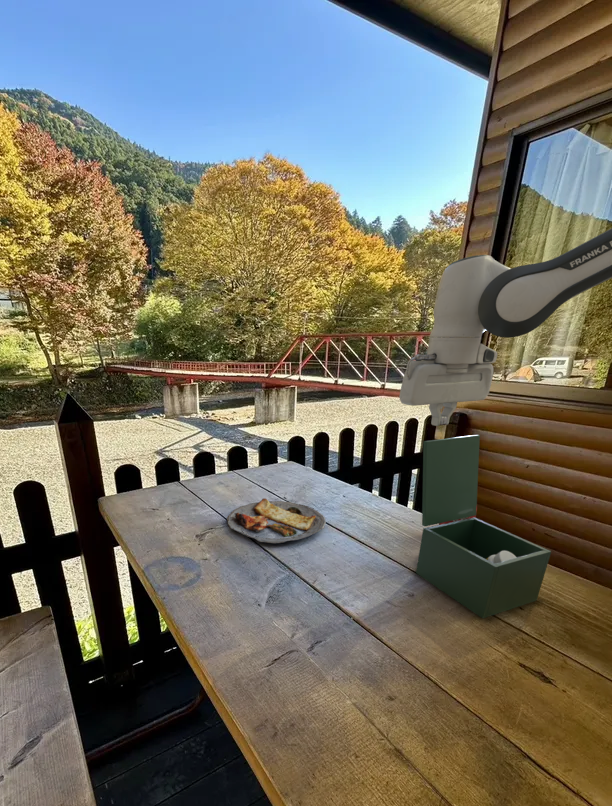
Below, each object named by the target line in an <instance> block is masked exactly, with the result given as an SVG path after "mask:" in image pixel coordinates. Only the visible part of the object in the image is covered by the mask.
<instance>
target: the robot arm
mask: <svg viewBox="0 0 612 806" xmlns="http://www.w3.org/2000/svg"><path fill="white" fill-rule="evenodd" d="M611 279H612V227H611V228H609V229H608V230H606V231H604V232H602V233H600V234H598V235H596V236H594V237H592V238H591V239H589V240H587V241H585V242H583V243H581V244H580V245H578V246H575V247H574V248H572V249H570V250H568V251H566V252H565V253H562V254H560V255H558V256H556V257H554V258H551V259H549V260H546V261H541V262H535V263H529V264H523V265H519V266H515V267H508V266H507V265H504V264H502V263H501V262H499V261H497V260H495V258H494V257H493V256H491V255H490V254H477V255H472V256H471V255H470V256H467V257H464V258H460V259H458V260H456V261H454V262H452V263H450V264H449V265H448V266H447V267H446V268H445V269H444V270H443V272H442V275H441V277H440V280H439V282H438V287H437V291H436V296H435V301H434V307H433V327H432V330H431V331H430V334H429V338H428V347H427V352H426V354H422V353H418V354H417V353H416V354H415V355H414V356H413V357H412V358H410V359H409V361H408V362H407V364H406V370H405V372H404V375H403V378H402V382H401V387H400V390H399V396H398V397H399V400H400V403H401V404H403V405H406V406H426V405H428V409H429V412H430V415H431V421H430V422H431V423H430V424H431V425H432V426H435V427H437V426H438V427H439V426H448V425H449V423H450V418H451V417H452V415H453V414H454V412H455V411H456V409H457V406H458V403H467V402H476V401H477V402H478V401H484V400H485V399H487V397H488V396H489V394H490V391H491V386H492V382H493V376H494V366H493V364H494V363H496V361H497V359H498V351H496V350H495V349H493V348H490V347H489V346H486V345H485V344H483V343H481V341H482V336H483V333H484V332H485V331H486V332H488V333H490V334H491V335H493V336H496V337H498V338H505V339H508V338H509V339H510V338H518V337H521V336H524V335H527V334H529V333H531V332H533V331H534V330H536V329H537V328H539V327H540V326H541V325H542V324H543V323H545V322H546V321H547V320H548V319H549V318H550V316H552V315H553V314H554V313H555V312H556V311H557V310H558V309H559V308H560V307H561V306H562V305H564V304H565V303H567V302H568V301H570V300H571V299H573V298H575V297H576V296H578V295H580V294H582V293H584V292H586V291H588V290H591V289H592V288H595V287H597V286H599V285H600V284H603V283H605V282H607V281H609V280H611ZM443 407H444V408H443ZM441 410H442V412H441Z"/></svg>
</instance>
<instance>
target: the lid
mask: <svg viewBox="0 0 612 806" xmlns="http://www.w3.org/2000/svg"><path fill="white" fill-rule="evenodd" d="M480 438H481V435H480V434H472V435H464V436H456V437H447V438H439V439H432V440H424V441H423V445H422V446H423V449H422V450H423V452H422V455H423V456H422V504H421V505H422V508H421V510H422V511H421V513H422V514H421V526H423V527H431V526H435V525H439V523H443V522H448V521H453V520H457V519H462V518H467V517H471V516H477V512H476V509H477V510H478V487H479V485H478V482H479V462H480V461H479V460H480V442H481V441H480V440H481V439H480Z"/></svg>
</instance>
